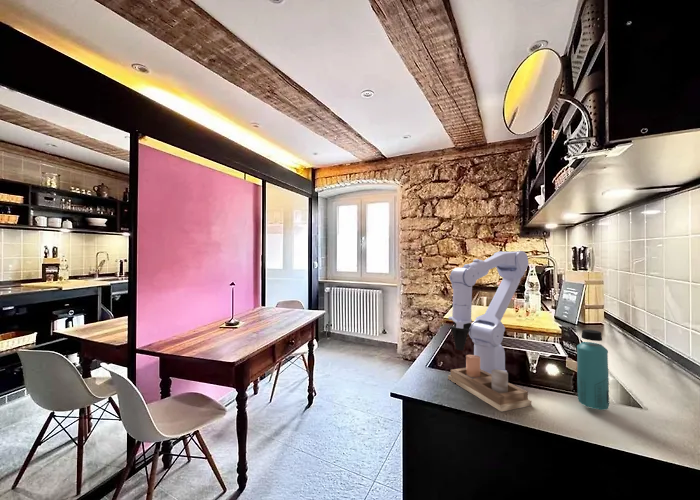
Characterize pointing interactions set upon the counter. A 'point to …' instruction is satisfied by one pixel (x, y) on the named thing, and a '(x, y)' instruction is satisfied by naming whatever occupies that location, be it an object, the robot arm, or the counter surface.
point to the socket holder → (492, 388)
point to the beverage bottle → (592, 372)
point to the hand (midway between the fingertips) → (460, 347)
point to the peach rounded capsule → (473, 366)
